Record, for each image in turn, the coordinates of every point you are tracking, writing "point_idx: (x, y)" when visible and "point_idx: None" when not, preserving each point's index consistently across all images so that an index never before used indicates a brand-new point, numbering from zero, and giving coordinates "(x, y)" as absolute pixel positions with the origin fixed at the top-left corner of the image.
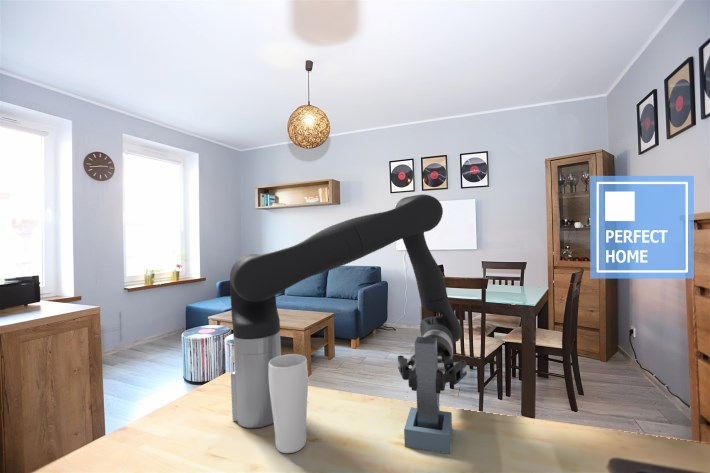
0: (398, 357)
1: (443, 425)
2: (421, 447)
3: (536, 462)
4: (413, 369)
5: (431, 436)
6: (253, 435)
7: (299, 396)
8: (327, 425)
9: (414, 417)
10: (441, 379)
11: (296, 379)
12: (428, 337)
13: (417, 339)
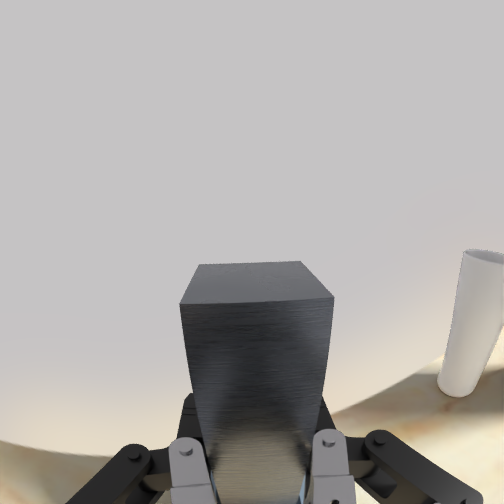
0: (470, 489)
1: (214, 489)
2: None
3: (60, 459)
4: (327, 429)
5: None
6: (496, 369)
7: (455, 307)
8: (467, 436)
9: (301, 499)
10: (194, 411)
11: (460, 275)
12: (245, 302)
13: (307, 277)
